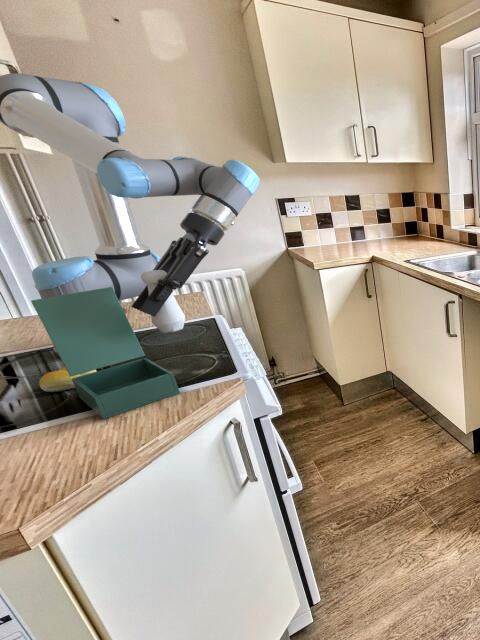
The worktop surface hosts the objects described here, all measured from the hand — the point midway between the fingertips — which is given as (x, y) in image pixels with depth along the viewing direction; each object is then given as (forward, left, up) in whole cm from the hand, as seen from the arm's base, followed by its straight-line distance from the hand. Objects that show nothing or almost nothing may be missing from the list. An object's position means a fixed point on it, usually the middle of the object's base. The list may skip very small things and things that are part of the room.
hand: (142, 311), depth 88 cm
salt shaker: (0, +4, -5) cm, 7 cm away
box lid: (-8, -7, -3) cm, 11 cm away
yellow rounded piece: (-17, -12, -16) cm, 26 cm away
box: (+2, -7, -16) cm, 18 cm away
